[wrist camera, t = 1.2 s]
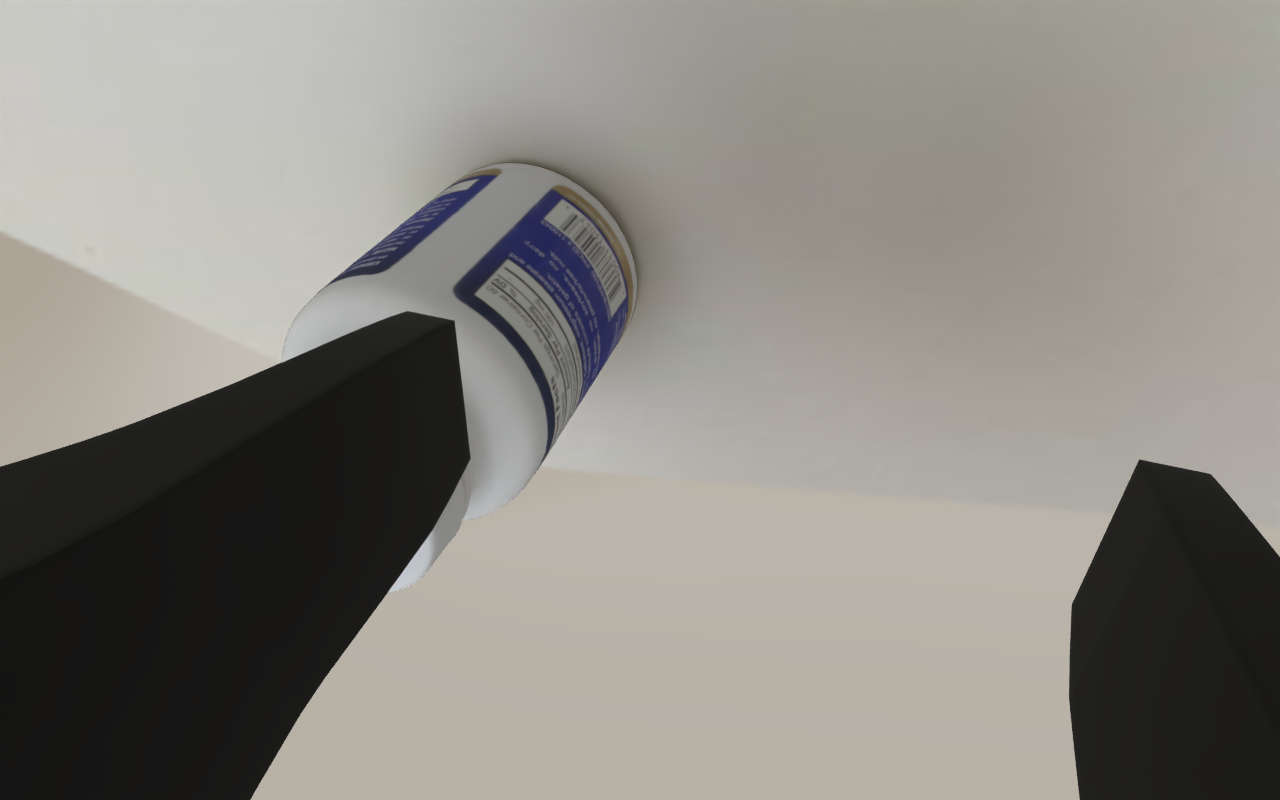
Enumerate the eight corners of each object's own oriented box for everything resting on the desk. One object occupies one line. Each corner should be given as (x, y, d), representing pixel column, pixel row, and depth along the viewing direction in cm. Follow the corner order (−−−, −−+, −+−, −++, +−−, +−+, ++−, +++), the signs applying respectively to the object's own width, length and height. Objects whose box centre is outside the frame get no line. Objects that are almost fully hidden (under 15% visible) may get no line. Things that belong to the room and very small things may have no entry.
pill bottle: (444, 332, 23) (215, 571, 17) (430, 138, 20) (139, 335, 13) (636, 380, 22) (474, 657, 16) (652, 183, 19) (458, 422, 12)
